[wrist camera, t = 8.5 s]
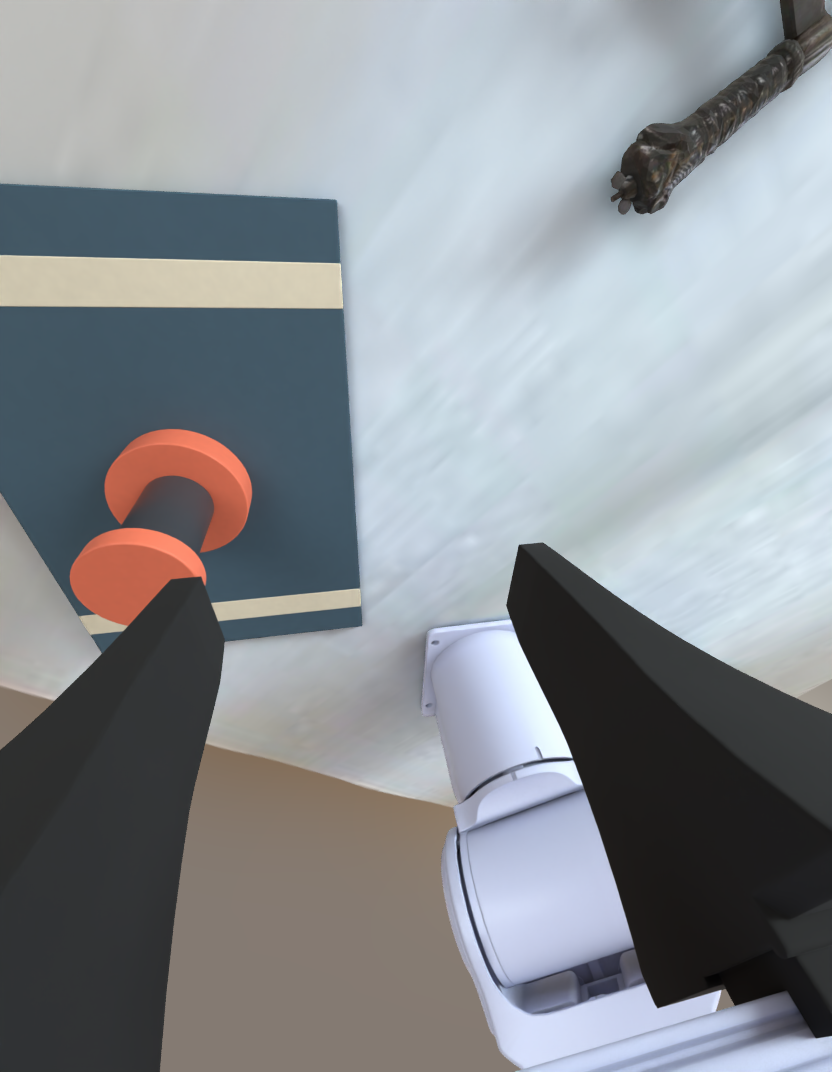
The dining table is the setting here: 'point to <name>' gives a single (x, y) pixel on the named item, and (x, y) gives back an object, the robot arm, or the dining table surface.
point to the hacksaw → (720, 112)
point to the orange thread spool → (161, 520)
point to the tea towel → (183, 382)
